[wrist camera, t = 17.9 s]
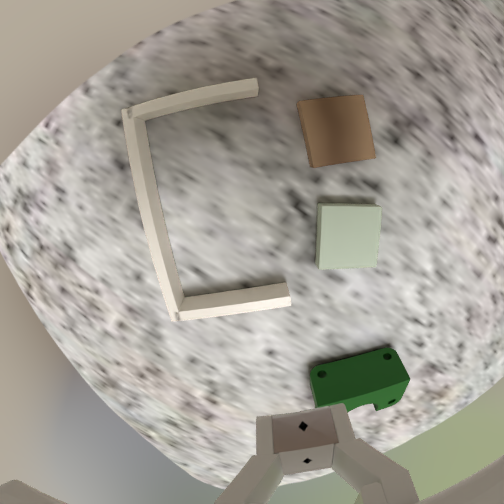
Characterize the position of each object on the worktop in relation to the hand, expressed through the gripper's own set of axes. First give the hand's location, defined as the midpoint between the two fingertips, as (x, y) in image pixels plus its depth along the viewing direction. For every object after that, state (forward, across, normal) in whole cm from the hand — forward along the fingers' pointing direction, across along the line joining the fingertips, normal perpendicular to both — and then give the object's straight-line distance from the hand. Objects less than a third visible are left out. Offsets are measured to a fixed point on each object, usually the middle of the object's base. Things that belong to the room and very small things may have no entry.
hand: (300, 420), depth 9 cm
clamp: (+21, -10, +18) cm, 30 cm away
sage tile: (+20, -8, 0) cm, 22 cm away
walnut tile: (+20, -8, -10) cm, 24 cm away
